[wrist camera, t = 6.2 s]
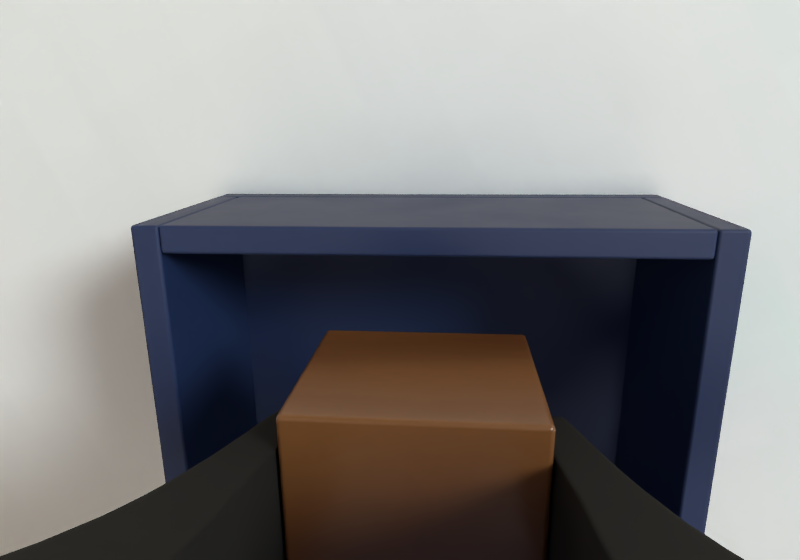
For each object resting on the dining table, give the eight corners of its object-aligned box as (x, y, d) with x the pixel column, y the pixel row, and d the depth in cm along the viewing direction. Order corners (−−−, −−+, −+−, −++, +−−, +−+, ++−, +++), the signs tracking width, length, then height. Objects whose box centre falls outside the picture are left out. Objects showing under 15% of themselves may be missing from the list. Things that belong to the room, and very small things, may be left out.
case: (225, 194, 17) (129, 225, 12) (658, 194, 16) (753, 230, 11) (250, 469, 19) (179, 592, 14) (626, 486, 18) (691, 625, 13)
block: (326, 328, 12) (273, 416, 8) (525, 333, 11) (557, 426, 8) (334, 497, 13) (290, 638, 9) (516, 506, 12) (540, 655, 9)
